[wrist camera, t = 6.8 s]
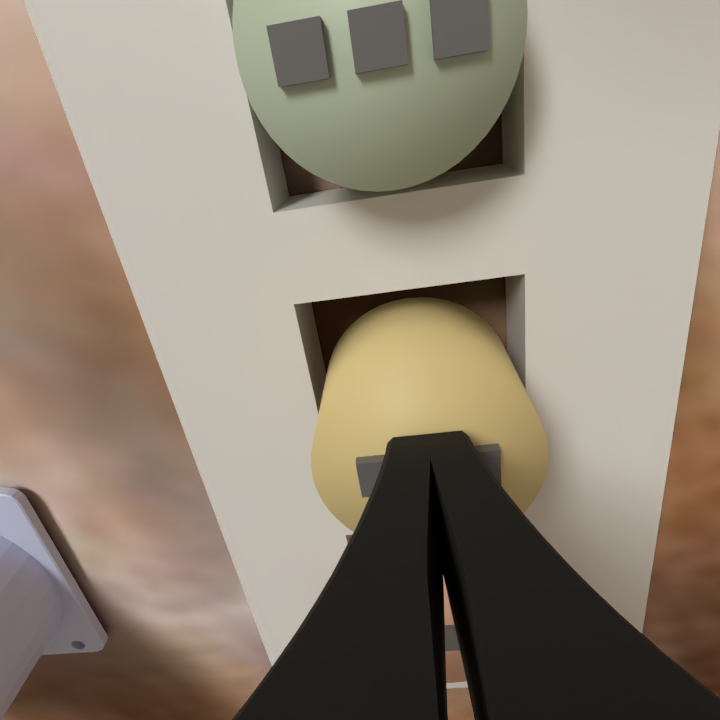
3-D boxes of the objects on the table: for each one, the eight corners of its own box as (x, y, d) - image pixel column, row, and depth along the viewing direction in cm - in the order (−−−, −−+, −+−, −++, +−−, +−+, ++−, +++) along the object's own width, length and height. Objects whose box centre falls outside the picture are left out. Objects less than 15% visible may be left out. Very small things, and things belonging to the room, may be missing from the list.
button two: (343, 462, 14) (332, 567, 10) (311, 310, 12) (285, 384, 9) (511, 446, 13) (549, 551, 10) (507, 284, 11) (554, 353, 8)
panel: (292, 642, 20) (283, 696, 18) (10, -204, 9) (-82, -279, 7) (610, 623, 19) (635, 678, 17) (720, -384, 8) (819, -526, 6)
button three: (297, 182, 12) (267, 211, 9) (249, -56, 10) (190, -127, 7) (491, 152, 11) (531, 171, 8) (482, -105, 9) (531, -204, 6)
